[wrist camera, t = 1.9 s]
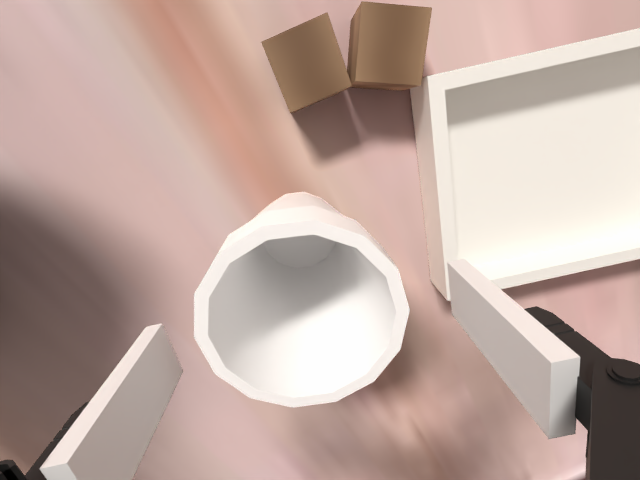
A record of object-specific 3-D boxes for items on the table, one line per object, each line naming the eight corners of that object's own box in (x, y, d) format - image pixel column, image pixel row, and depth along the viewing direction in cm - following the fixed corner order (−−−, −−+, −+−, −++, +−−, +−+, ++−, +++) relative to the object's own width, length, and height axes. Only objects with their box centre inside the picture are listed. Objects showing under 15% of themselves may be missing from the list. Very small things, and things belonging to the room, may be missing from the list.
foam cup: (370, 263, 28) (427, 372, 16) (267, 298, 29) (247, 430, 17) (336, 153, 25) (374, 186, 13) (220, 194, 26) (152, 264, 13)
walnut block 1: (290, 113, 24) (289, 112, 20) (267, 54, 23) (261, 42, 19) (343, 91, 24) (351, 85, 20) (322, 30, 22) (327, 12, 19)
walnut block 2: (345, 87, 24) (355, 80, 20) (350, 21, 22) (361, 1, 19) (401, 90, 24) (420, 85, 20) (409, 26, 23) (431, 7, 19)
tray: (430, 280, 29) (447, 301, 26) (409, 81, 24) (427, 76, 20) (657, 230, 29) (703, 244, 26) (688, 19, 24) (752, 2, 20)
